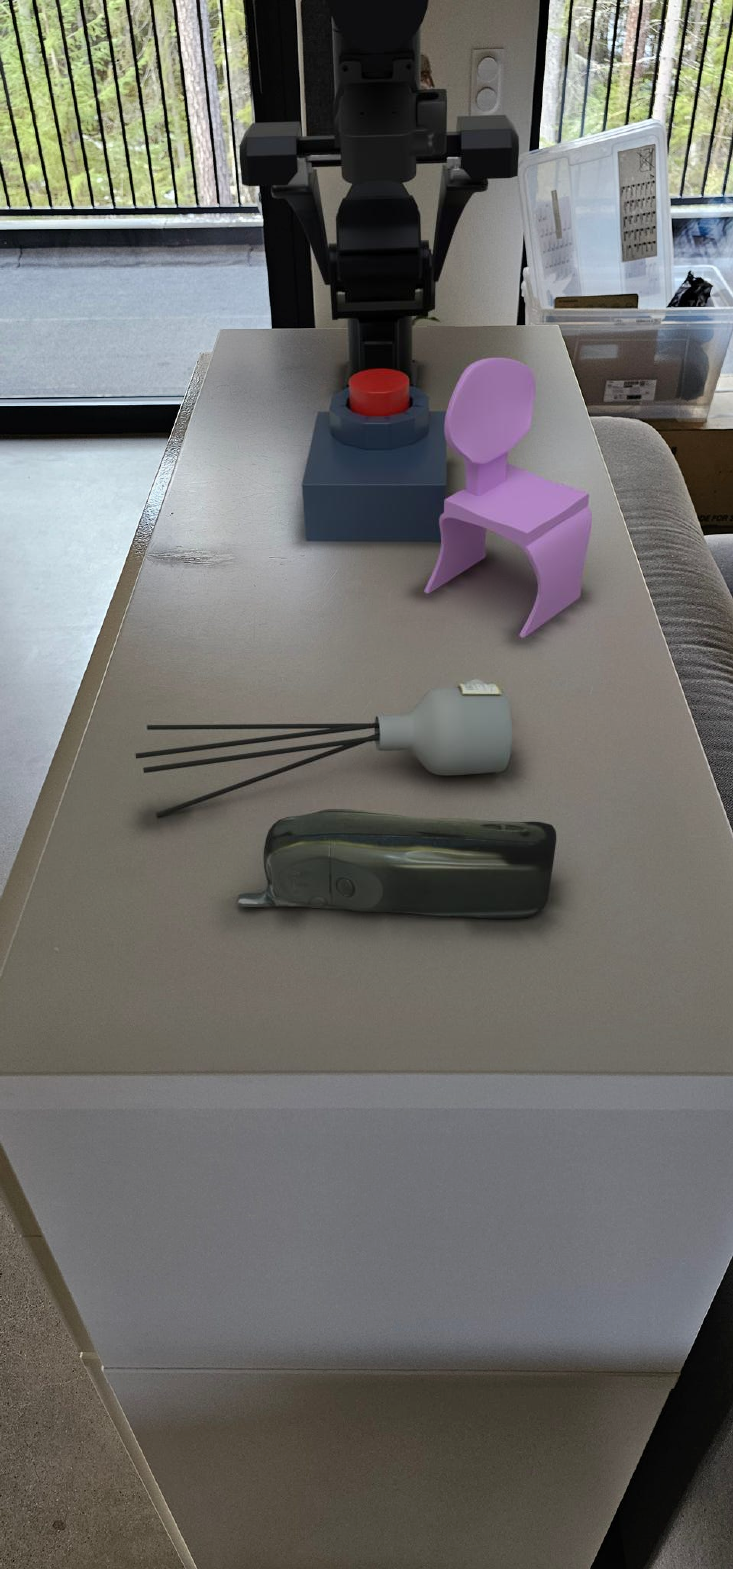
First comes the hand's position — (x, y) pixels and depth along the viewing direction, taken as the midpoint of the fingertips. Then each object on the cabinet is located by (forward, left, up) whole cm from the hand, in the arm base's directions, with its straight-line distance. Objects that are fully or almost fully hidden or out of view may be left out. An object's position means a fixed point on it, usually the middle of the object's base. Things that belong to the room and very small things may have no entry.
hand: (381, 282), depth 81 cm
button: (+6, 0, -7) cm, 9 cm away
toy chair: (+22, +9, -13) cm, 27 cm away
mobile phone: (+49, +3, -13) cm, 51 cm away
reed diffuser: (+40, -1, -13) cm, 42 cm away
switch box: (+9, 0, -13) cm, 16 cm away
